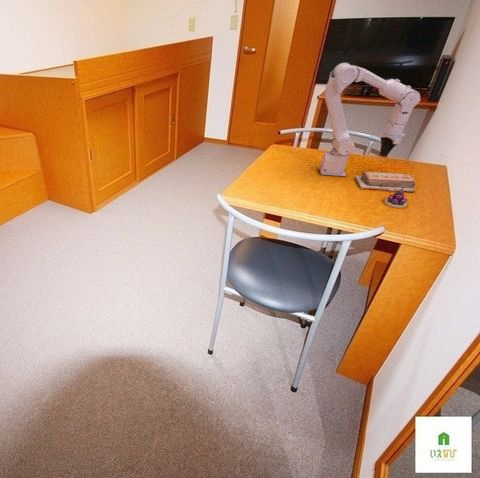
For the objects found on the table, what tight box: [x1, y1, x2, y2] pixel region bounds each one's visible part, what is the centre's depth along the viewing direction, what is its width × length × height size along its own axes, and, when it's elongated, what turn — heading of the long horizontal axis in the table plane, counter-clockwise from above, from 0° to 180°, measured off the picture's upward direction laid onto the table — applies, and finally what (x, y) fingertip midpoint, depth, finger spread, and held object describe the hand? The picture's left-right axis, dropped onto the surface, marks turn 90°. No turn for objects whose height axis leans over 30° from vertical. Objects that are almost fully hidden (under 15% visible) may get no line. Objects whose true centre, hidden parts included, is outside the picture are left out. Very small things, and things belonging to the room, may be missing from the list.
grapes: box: [384, 187, 408, 209], centre depth 116 cm, size 6×6×7 cm
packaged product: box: [355, 171, 417, 193], centre depth 128 cm, size 18×5×10 cm
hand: (383, 155), depth 134 cm, fingers closed
